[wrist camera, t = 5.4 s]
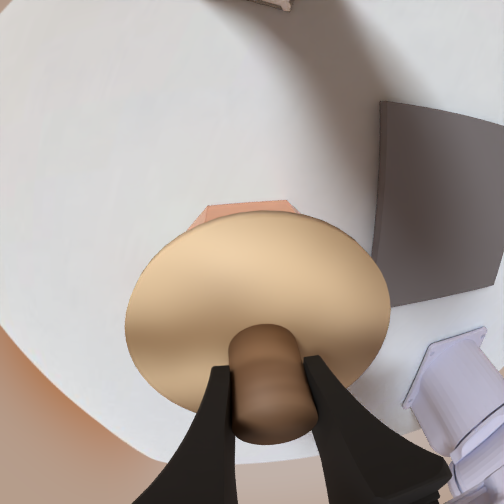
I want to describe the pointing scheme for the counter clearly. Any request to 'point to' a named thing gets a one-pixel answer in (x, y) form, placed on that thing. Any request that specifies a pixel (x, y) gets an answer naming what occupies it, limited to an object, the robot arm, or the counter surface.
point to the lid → (257, 316)
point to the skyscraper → (276, 3)
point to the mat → (438, 203)
